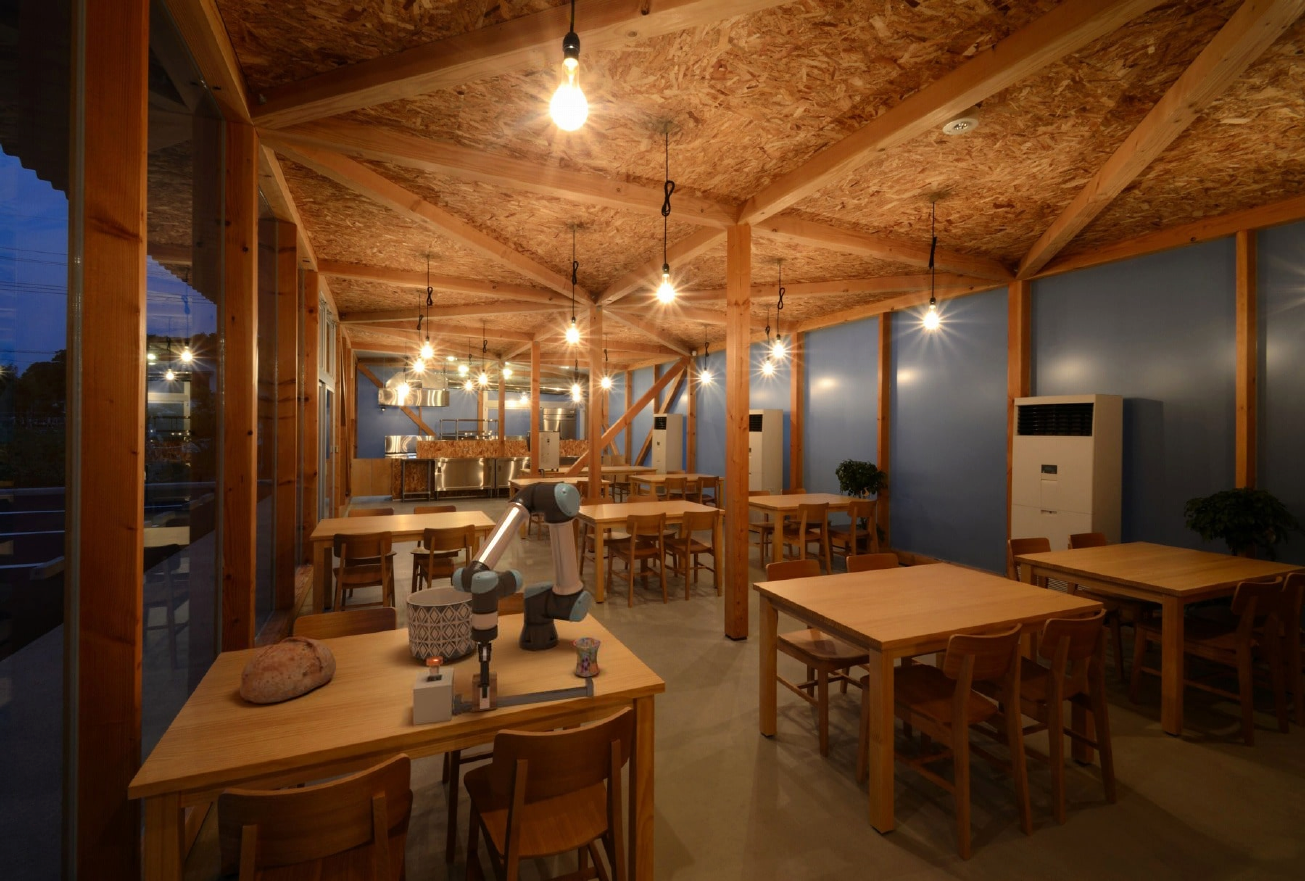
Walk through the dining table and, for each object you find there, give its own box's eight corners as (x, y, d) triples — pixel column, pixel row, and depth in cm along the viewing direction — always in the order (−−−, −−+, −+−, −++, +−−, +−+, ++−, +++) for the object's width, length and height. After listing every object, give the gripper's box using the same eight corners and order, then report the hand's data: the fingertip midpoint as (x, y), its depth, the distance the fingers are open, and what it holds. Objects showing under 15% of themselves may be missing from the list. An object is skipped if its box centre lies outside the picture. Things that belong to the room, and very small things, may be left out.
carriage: (472, 704, 166) (472, 673, 166) (496, 700, 168) (496, 671, 168) (472, 711, 161) (472, 680, 161) (497, 708, 163) (497, 677, 163)
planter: (480, 638, 222) (480, 583, 222) (481, 663, 197) (481, 601, 197) (409, 645, 214) (410, 588, 214) (402, 672, 189) (402, 608, 189)
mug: (603, 676, 186) (603, 645, 186) (576, 680, 183) (576, 648, 183) (595, 663, 197) (595, 633, 197) (569, 666, 194) (569, 636, 194)
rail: (454, 708, 164) (454, 694, 164) (591, 690, 176) (591, 677, 176) (453, 714, 160) (453, 700, 160) (593, 696, 172) (593, 683, 172)
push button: (427, 678, 163) (427, 656, 163) (443, 676, 164) (443, 655, 164) (425, 684, 159) (425, 662, 159) (442, 682, 160) (442, 660, 160)
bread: (272, 712, 162) (272, 661, 161) (220, 699, 170) (220, 650, 170) (351, 676, 186) (351, 632, 186) (302, 666, 195) (302, 623, 194)
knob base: (418, 705, 166) (418, 671, 166) (453, 700, 169) (453, 668, 169) (413, 724, 155) (413, 689, 154) (451, 719, 157) (451, 684, 157)
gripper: (472, 617, 172) (472, 691, 172) (470, 637, 155) (470, 719, 155) (497, 614, 174) (497, 688, 174) (498, 634, 157) (498, 716, 157)
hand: (484, 703), depth 165 cm, fingers closed on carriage, 5 cm apart
